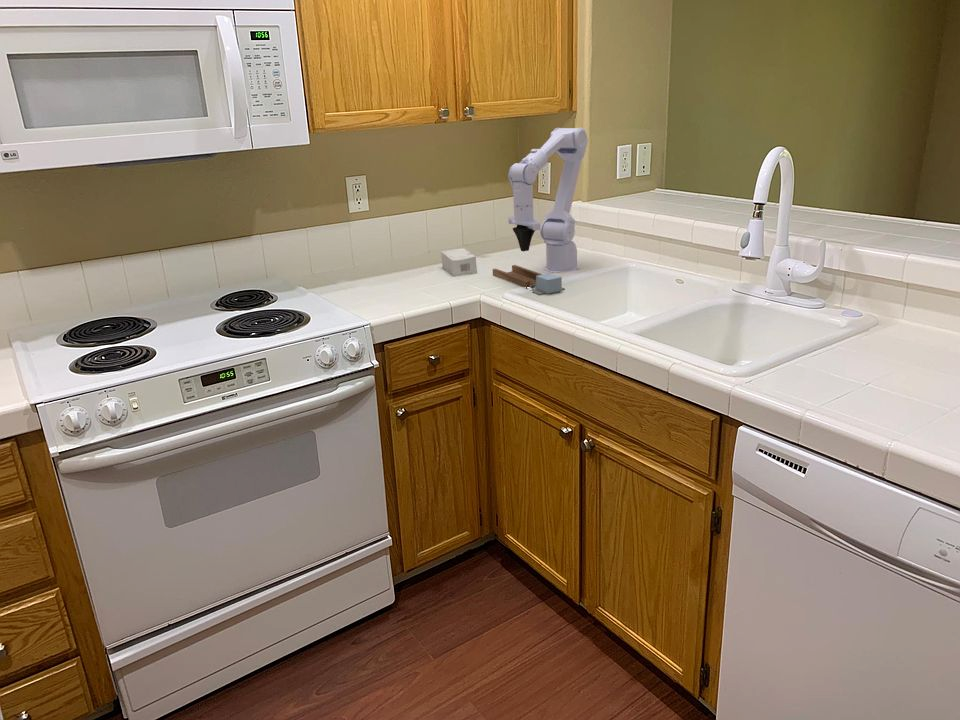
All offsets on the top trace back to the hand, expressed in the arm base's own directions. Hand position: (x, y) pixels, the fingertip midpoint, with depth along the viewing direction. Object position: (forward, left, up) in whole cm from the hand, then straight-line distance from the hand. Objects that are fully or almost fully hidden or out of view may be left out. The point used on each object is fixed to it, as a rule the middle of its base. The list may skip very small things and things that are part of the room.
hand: (524, 250), depth 219 cm
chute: (0, +1, -10) cm, 10 cm away
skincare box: (+11, -19, -7) cm, 23 cm away
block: (0, +13, -9) cm, 16 cm away
